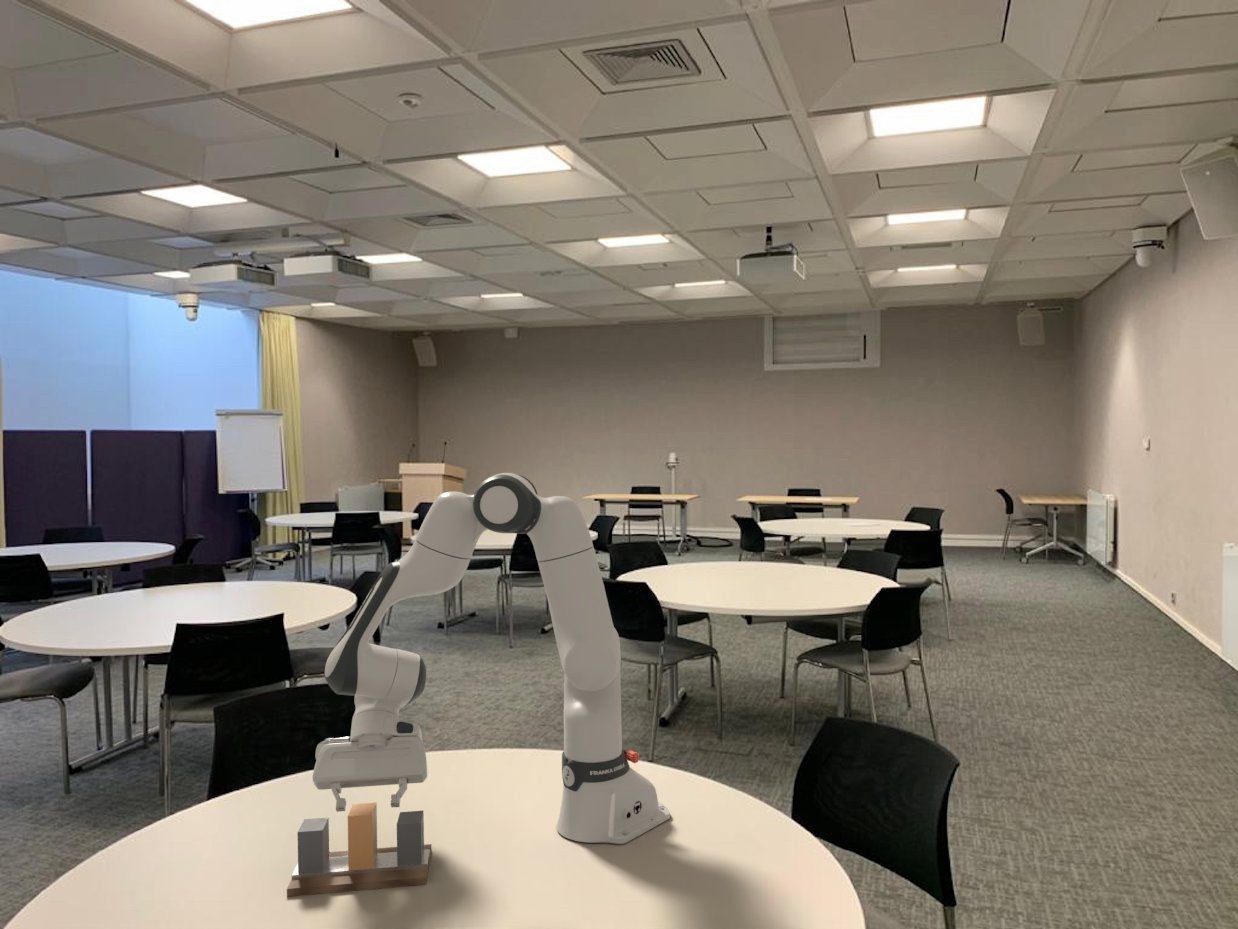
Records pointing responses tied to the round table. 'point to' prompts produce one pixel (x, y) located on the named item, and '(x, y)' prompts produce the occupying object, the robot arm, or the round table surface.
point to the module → (362, 836)
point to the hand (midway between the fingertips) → (367, 808)
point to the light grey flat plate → (381, 864)
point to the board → (359, 878)
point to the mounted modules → (317, 842)
